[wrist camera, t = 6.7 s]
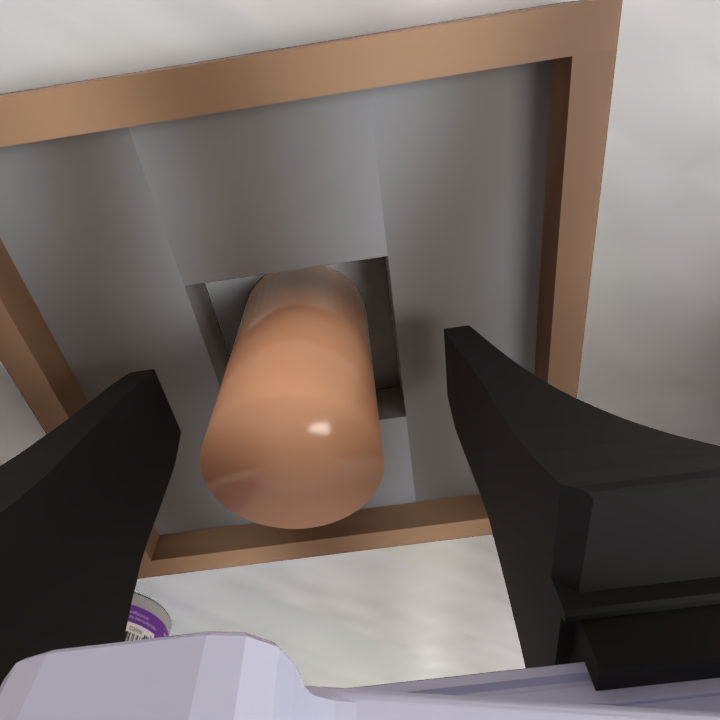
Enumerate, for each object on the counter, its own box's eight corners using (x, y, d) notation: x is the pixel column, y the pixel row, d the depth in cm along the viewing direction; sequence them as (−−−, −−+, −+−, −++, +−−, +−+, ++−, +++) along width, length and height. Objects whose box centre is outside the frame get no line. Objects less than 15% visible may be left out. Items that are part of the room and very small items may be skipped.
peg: (365, 260, 14) (383, 390, 9) (368, 366, 16) (384, 523, 11) (235, 266, 14) (181, 401, 9) (254, 373, 16) (218, 533, 11)
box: (567, 1, 11) (622, -5, 9) (535, 469, 19) (561, 525, 16) (-60, 103, 12) (-148, 121, 9) (157, 518, 19) (136, 578, 17)
